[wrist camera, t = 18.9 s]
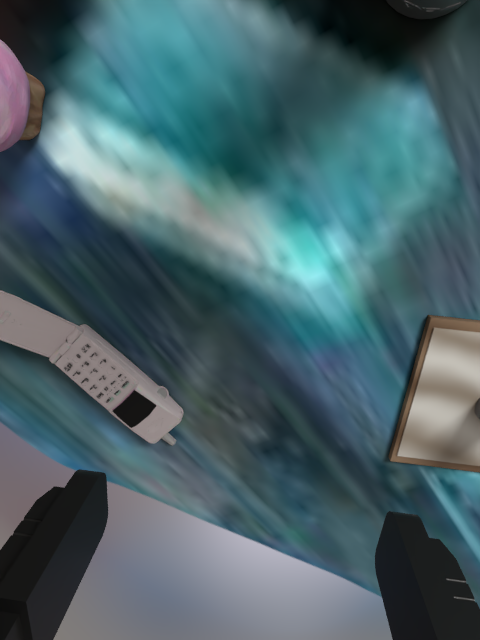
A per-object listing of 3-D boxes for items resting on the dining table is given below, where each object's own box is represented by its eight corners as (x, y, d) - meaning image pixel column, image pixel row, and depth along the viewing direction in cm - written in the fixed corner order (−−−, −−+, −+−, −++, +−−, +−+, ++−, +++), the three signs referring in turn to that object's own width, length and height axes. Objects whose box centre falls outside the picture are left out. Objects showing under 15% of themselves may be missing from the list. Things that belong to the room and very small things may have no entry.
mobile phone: (-5, 285, 36) (191, 449, 41) (32, 270, 42) (201, 416, 46) (-36, 326, 38) (155, 478, 43) (4, 306, 43) (169, 443, 48)
